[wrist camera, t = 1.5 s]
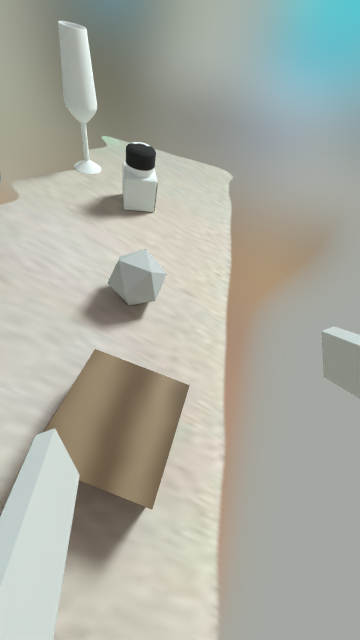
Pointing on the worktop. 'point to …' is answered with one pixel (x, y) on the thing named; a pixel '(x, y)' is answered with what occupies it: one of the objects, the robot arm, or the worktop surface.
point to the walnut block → (120, 426)
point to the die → (137, 277)
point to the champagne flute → (78, 83)
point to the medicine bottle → (139, 178)
